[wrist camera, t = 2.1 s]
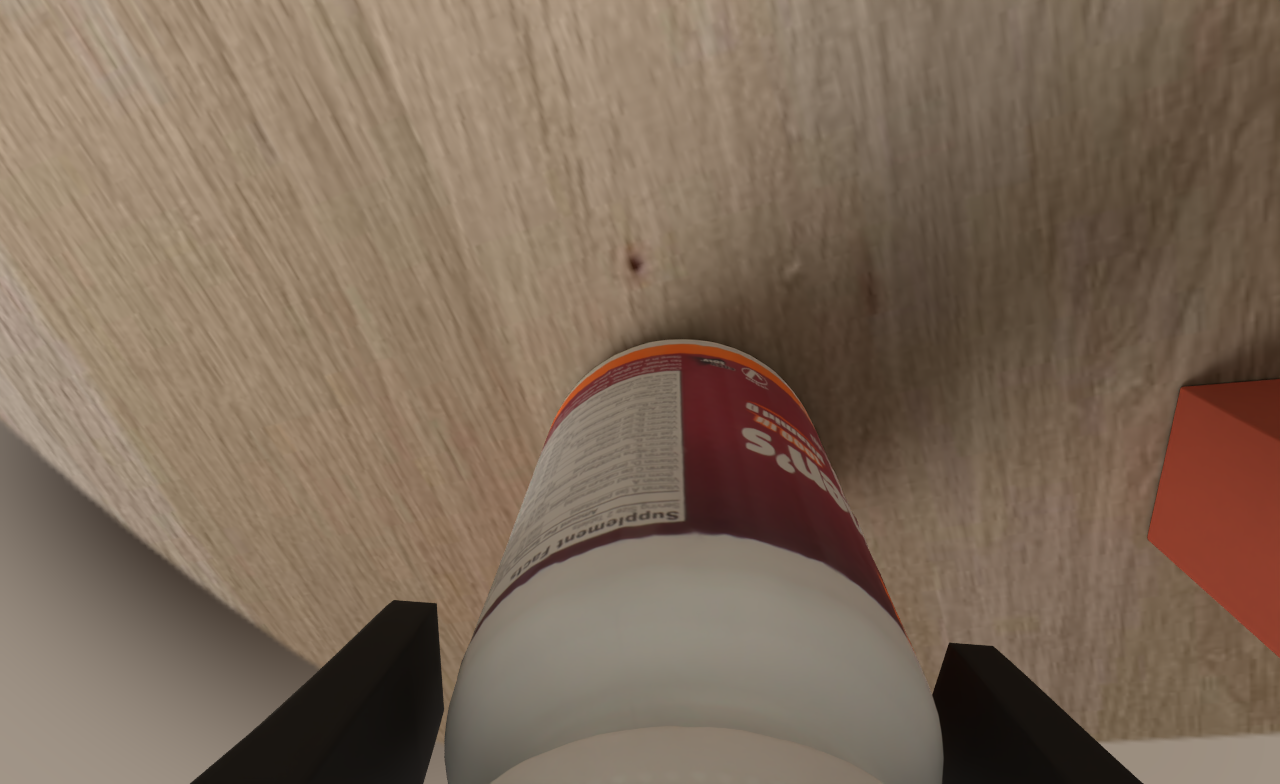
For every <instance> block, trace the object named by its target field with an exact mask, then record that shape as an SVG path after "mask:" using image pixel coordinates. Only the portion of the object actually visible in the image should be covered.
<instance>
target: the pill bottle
mask: <svg viewBox="0 0 1280 784" xmlns="http://www.w3.org/2000/svg"><path fill="white" fill-rule="evenodd" d="M943 761H944V756H943V744H942V733H941V727H940V721H939V716H938V712H937V709H936V706H935V703H934V699H933V697H932V694H931V691H930V688H929V685H928V683H927V680H926V678H925V675H924V673H923V671H922V668H921V666H920V664H919V661H918V659H917V657H916V655H915V652H914V650H913V648H912V645H911V643H910V641H909V638H908V636H907V634H906V631H905V629H904V627H903V625H902V623H901V621H900V618H899V616H898V614H897V612H896V610H895V608H894V605H893V603H892V601H891V599H890V596H889V594H888V592H887V589H886V587H885V584H884V582H883V579H882V577H881V574H880V572H879V570H878V568H877V566H876V564H875V562H874V560H873V558H872V556H871V554H870V551H869V549H868V545H867V542H866V540H865V537H864V535H863V532H862V530H861V528H860V526H859V524H858V521H857V519H856V518H855V516H854V515H853V513H852V511H851V508H850V506H849V504H848V502H847V500H846V498H845V495H844V493H843V491H842V488H841V485H840V483H839V481H838V478H837V476H836V474H835V472H834V470H833V468H832V466H831V464H830V461H829V459H828V457H827V455H826V452H825V450H824V449H823V447H822V444H821V441H820V439H819V436H818V434H817V432H816V430H815V428H814V425H813V423H812V422H811V420H810V418H809V416H808V414H807V411H806V410H805V408H804V406H803V405H802V403H801V402H800V400H799V399H798V397H797V396H796V394H795V393H794V392H793V390H792V389H791V388H790V387H789V386H788V384H787V383H786V382H785V381H784V380H783V379H782V378H781V377H780V376H779V375H778V374H777V373H776V372H775V371H773V370H772V369H771V368H769V367H768V366H766V365H765V364H764V363H762V362H760V361H759V360H757V359H755V358H754V357H752V356H751V355H749V354H746V353H744V352H742V351H740V350H737V349H735V348H732V347H728V346H725V345H722V344H719V343H714V342H709V341H702V340H689V339H677V340H661V341H654V342H649V343H646V344H642V345H639V346H636V347H633V348H630V349H628V350H626V351H623V352H621V353H619V354H616V355H614V356H612V357H611V358H609V359H607V360H606V361H604V362H603V363H601V364H600V365H598V366H597V367H595V368H594V369H593V370H591V371H590V372H589V373H588V374H587V375H586V376H584V377H583V378H582V379H581V380H580V381H579V383H578V384H577V385H576V386H575V387H574V388H573V389H572V391H571V392H570V393H569V395H568V396H567V397H566V399H565V401H564V402H563V404H562V406H561V407H560V409H559V411H558V413H557V415H556V417H555V419H554V421H553V423H552V426H551V429H550V431H549V434H548V436H547V438H546V441H545V444H544V447H543V449H542V452H541V455H540V457H539V460H538V463H537V466H536V469H535V471H534V474H533V477H532V480H531V482H530V485H529V487H528V490H527V493H526V495H525V498H524V501H523V503H522V506H521V509H520V511H519V514H518V517H517V519H516V522H515V525H514V528H513V530H512V533H511V536H510V539H509V541H508V544H507V547H506V550H505V552H504V555H503V557H502V560H501V563H500V565H499V568H498V571H497V573H496V576H495V579H494V582H493V584H492V587H491V589H490V592H489V594H488V597H487V600H486V602H485V605H484V607H483V610H482V613H481V615H480V618H479V620H478V623H477V626H476V628H475V631H474V634H473V636H472V639H471V642H470V644H469V646H468V648H467V651H466V653H465V655H464V658H463V660H462V663H461V666H460V670H459V673H458V678H457V682H456V685H455V688H454V692H453V695H452V698H451V701H450V705H449V710H448V716H447V722H446V731H445V765H446V773H447V780H448V784H942V775H943Z"/></svg>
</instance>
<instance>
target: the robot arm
mask: <svg viewBox="0 0 1280 784" xmlns="http://www.w3.org/2000/svg"><path fill="white" fill-rule="evenodd" d="M932 697H933V699H934V703H935V706H936V709H937V712H938V716H939V721H940V727H941V733H942V744H943V756H944V761H943V775H942V784H1143V783H1142V782H1141V781H1140V780H1138V779H1137V778H1136V777H1135V776H1134V775H1133V774H1132V773H1131V772H1130V771H1129V770H1127V769H1126V768H1125V767H1124V766H1123V765H1122V764H1121V763H1120V762H1119V761H1117V760H1116V759H1115V758H1114V757H1113V756H1112V755H1111V754H1110V753H1109V752H1108V751H1107V750H1105V749H1104V748H1103V747H1102V746H1101V745H1100V744H1099V743H1098V742H1097V741H1096V740H1095V739H1094V738H1093V737H1091V736H1090V735H1089V734H1088V733H1087V732H1086V731H1085V730H1084V729H1083V728H1082V727H1081V726H1080V725H1079V724H1077V723H1076V722H1075V721H1074V720H1073V719H1072V718H1071V717H1070V716H1069V715H1068V714H1067V713H1066V712H1065V711H1064V710H1062V709H1061V708H1060V707H1059V706H1058V705H1057V704H1056V703H1055V702H1054V701H1053V700H1052V699H1051V698H1050V697H1049V696H1047V695H1046V694H1045V693H1044V692H1043V691H1042V690H1041V689H1040V688H1039V687H1038V686H1037V685H1036V684H1035V683H1034V682H1032V681H1031V680H1030V679H1029V678H1028V677H1027V676H1026V675H1025V674H1024V673H1023V672H1022V671H1021V670H1019V669H1018V668H1017V667H1016V666H1015V665H1014V664H1013V663H1012V662H1011V661H1009V660H1008V659H1007V658H1006V657H1005V656H1004V655H1003V654H1002V653H1000V652H999V651H998V650H997V649H996V648H995V647H993V646H985V645H972V644H959V643H949V645H948V648H947V651H946V654H945V657H944V660H943V663H942V667H941V670H940V673H939V676H938V679H937V682H936V685H935V688H934V691H933V694H932ZM443 712H444V702H443V688H442V674H441V659H440V645H439V631H438V617H437V603H424V602H411V601H398V600H393V601H392V602H391V603H390V604H388V605H387V606H386V607H385V608H384V609H383V610H382V611H381V612H380V613H379V614H377V615H376V616H375V617H374V618H373V619H372V620H371V621H370V622H369V623H368V624H367V625H366V626H365V627H364V628H363V629H362V630H361V631H360V632H359V633H358V634H357V635H356V636H355V637H354V638H353V639H352V640H350V641H349V642H348V643H347V644H346V645H345V646H344V647H343V648H342V649H341V650H340V651H339V652H338V653H337V654H336V655H335V656H334V657H333V658H332V659H331V660H330V661H328V662H327V663H326V664H325V665H324V666H323V667H322V668H321V669H320V670H319V671H318V672H317V673H316V674H315V675H314V676H313V677H312V678H311V679H309V680H308V681H307V682H306V683H305V684H304V685H303V686H302V687H301V688H299V689H298V690H297V691H296V692H295V693H294V694H293V695H292V696H291V697H290V698H288V699H287V700H286V701H285V702H284V703H283V704H282V705H281V706H280V707H279V708H277V709H276V710H275V711H274V712H273V713H272V714H271V715H270V716H269V717H268V718H267V719H265V721H263V722H262V723H261V724H260V725H259V726H257V727H256V728H255V729H254V730H253V731H252V732H251V733H250V734H249V735H247V736H246V737H245V738H244V739H242V740H241V741H240V742H239V743H238V744H236V745H235V746H234V747H233V748H232V749H231V750H229V751H228V752H227V753H226V754H225V755H223V756H222V757H221V758H220V759H219V760H217V761H216V762H215V763H214V764H213V765H212V766H210V767H209V768H208V769H207V770H206V771H205V772H203V773H202V774H201V775H200V776H199V777H197V778H196V779H195V780H194V781H193V782H191V783H190V784H423V782H424V779H425V776H426V772H427V769H428V765H429V762H430V759H431V755H432V752H433V748H434V745H435V741H436V737H437V734H438V730H439V726H440V723H441V719H442V716H443Z"/></svg>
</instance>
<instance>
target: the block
mask: <svg viewBox="0 0 1280 784" xmlns="http://www.w3.org/2000/svg"><path fill="white" fill-rule="evenodd" d="M1147 538H1148V540H1149V541H1150V542H1151V543H1152V544H1153V545H1155V546H1156V547H1157V548H1158V549H1159V550H1160V551H1161V552H1162V553H1163V554H1165V555H1166V556H1167V557H1168V558H1169V559H1170V560H1171V561H1172V562H1173V563H1175V564H1176V565H1177V566H1178V567H1179V568H1180V569H1181V570H1182V571H1184V572H1185V573H1186V574H1187V575H1188V576H1189V577H1190V578H1191V579H1192V580H1194V581H1195V582H1196V583H1197V584H1198V585H1199V586H1200V587H1201V588H1202V589H1204V590H1205V591H1206V592H1207V593H1208V594H1209V595H1210V596H1211V597H1212V598H1214V599H1215V600H1216V601H1217V602H1218V603H1219V604H1220V605H1221V606H1222V607H1224V608H1225V609H1226V610H1227V611H1228V612H1229V613H1230V614H1231V615H1233V616H1234V617H1235V618H1236V619H1237V620H1238V621H1239V622H1240V623H1241V624H1243V625H1244V626H1245V627H1246V628H1247V629H1248V630H1249V631H1250V632H1251V633H1253V634H1254V635H1255V636H1256V637H1257V638H1258V639H1259V640H1260V641H1261V642H1263V643H1264V644H1265V645H1266V646H1267V647H1268V648H1269V649H1270V650H1272V651H1273V652H1274V653H1275V654H1276V655H1277V656H1278V657H1279V658H1280V379H1273V380H1261V381H1249V382H1237V383H1224V384H1212V385H1200V386H1188V387H1181V389H1180V393H1179V397H1178V402H1177V406H1176V411H1175V415H1174V420H1173V424H1172V429H1171V433H1170V438H1169V442H1168V447H1167V451H1166V456H1165V460H1164V465H1163V469H1162V474H1161V478H1160V483H1159V487H1158V492H1157V496H1156V501H1155V505H1154V510H1153V514H1152V519H1151V523H1150V528H1149V532H1148V537H1147Z"/></svg>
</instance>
